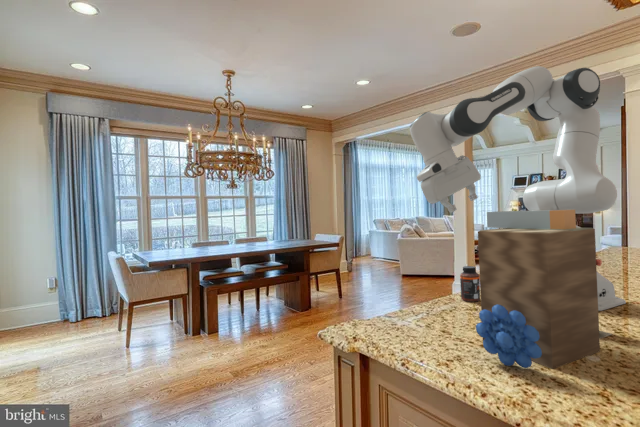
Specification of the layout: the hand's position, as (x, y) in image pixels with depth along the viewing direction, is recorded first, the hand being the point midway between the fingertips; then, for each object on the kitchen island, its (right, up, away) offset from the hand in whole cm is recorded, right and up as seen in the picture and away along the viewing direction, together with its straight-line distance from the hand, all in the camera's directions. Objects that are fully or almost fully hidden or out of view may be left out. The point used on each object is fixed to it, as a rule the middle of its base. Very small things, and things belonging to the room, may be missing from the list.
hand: (464, 205), depth 105 cm
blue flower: (-6, -33, -36) cm, 49 cm away
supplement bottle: (+8, -32, +14) cm, 36 cm away
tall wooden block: (+6, -32, -27) cm, 42 cm away
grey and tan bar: (+6, -6, -21) cm, 23 cm away
